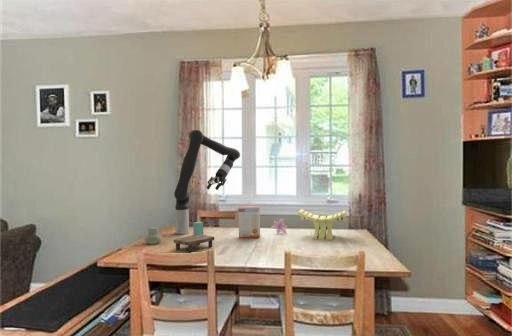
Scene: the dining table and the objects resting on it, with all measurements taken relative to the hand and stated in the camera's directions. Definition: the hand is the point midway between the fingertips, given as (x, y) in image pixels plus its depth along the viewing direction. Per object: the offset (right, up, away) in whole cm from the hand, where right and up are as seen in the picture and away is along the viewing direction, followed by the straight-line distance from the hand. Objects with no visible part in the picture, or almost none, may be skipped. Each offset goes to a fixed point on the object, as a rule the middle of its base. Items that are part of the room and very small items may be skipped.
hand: (211, 189), depth 282 cm
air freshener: (-35, -34, -24) cm, 54 cm away
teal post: (-7, -33, -17) cm, 38 cm away
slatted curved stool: (+76, -32, -10) cm, 83 cm away
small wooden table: (-6, -34, -38) cm, 51 cm away
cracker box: (+26, -32, -8) cm, 43 cm away
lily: (+47, -32, +4) cm, 57 cm away
